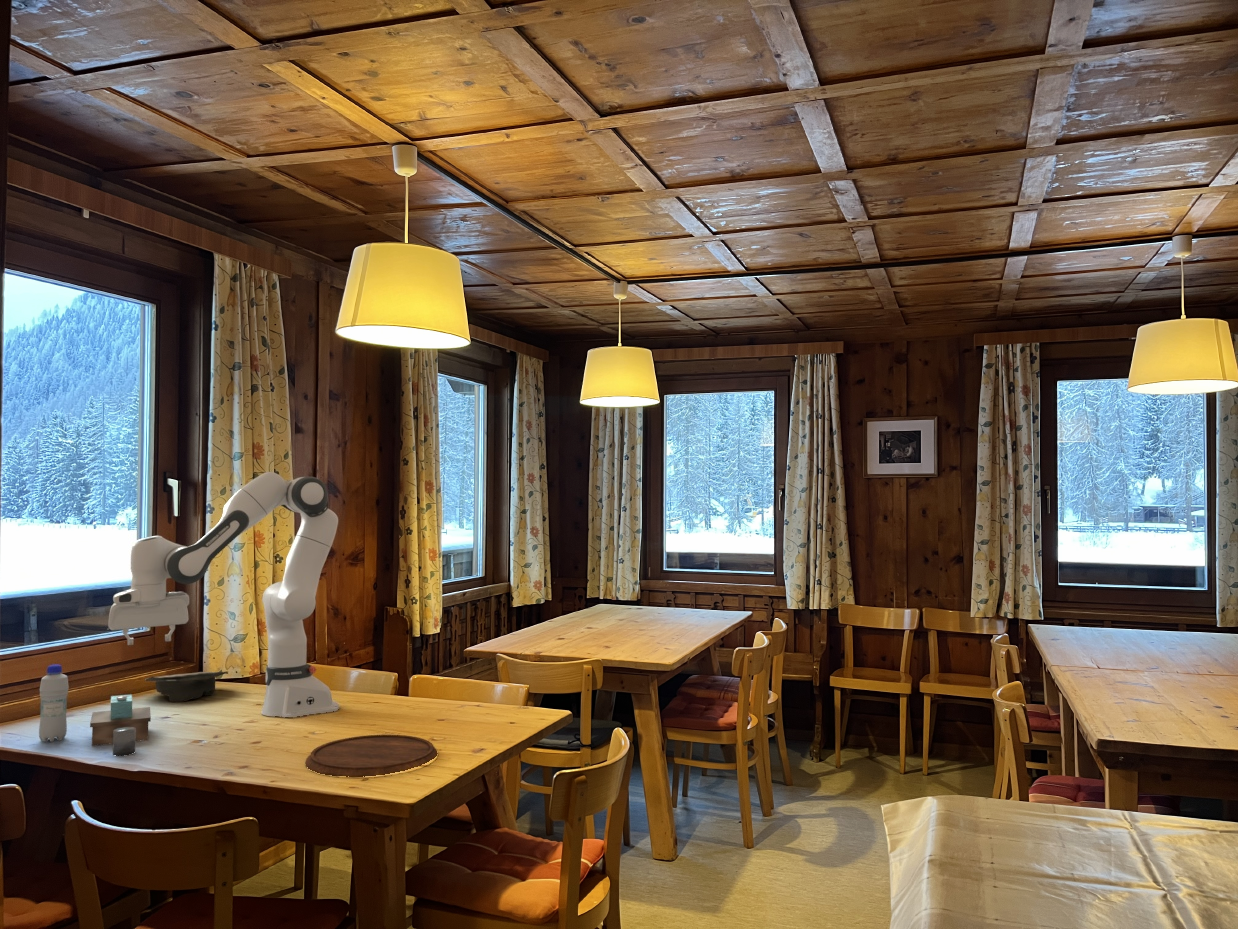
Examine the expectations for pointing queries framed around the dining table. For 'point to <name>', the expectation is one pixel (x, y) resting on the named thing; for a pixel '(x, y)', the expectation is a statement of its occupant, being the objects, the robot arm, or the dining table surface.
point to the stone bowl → (186, 685)
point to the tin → (124, 741)
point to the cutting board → (370, 755)
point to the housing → (121, 707)
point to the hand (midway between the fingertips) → (149, 642)
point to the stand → (118, 725)
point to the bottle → (53, 704)
